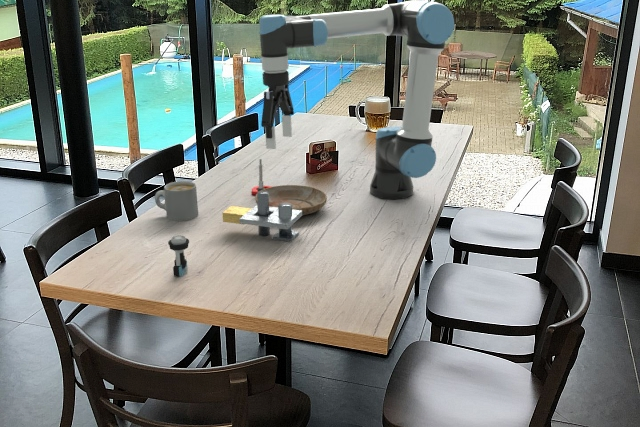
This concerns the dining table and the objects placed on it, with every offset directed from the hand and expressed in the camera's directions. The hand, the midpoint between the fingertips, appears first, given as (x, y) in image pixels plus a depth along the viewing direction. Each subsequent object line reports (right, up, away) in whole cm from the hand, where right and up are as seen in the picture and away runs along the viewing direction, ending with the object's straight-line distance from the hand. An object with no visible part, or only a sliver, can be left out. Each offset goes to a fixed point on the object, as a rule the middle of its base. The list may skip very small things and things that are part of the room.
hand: (279, 142), depth 206 cm
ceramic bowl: (+3, -20, +20) cm, 29 cm away
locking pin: (-5, -27, 0) cm, 28 cm away
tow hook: (-8, -14, +37) cm, 40 cm away
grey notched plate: (-6, -27, +1) cm, 28 cm away
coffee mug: (-34, -22, +16) cm, 43 cm away
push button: (-24, -37, -24) cm, 50 cm away
